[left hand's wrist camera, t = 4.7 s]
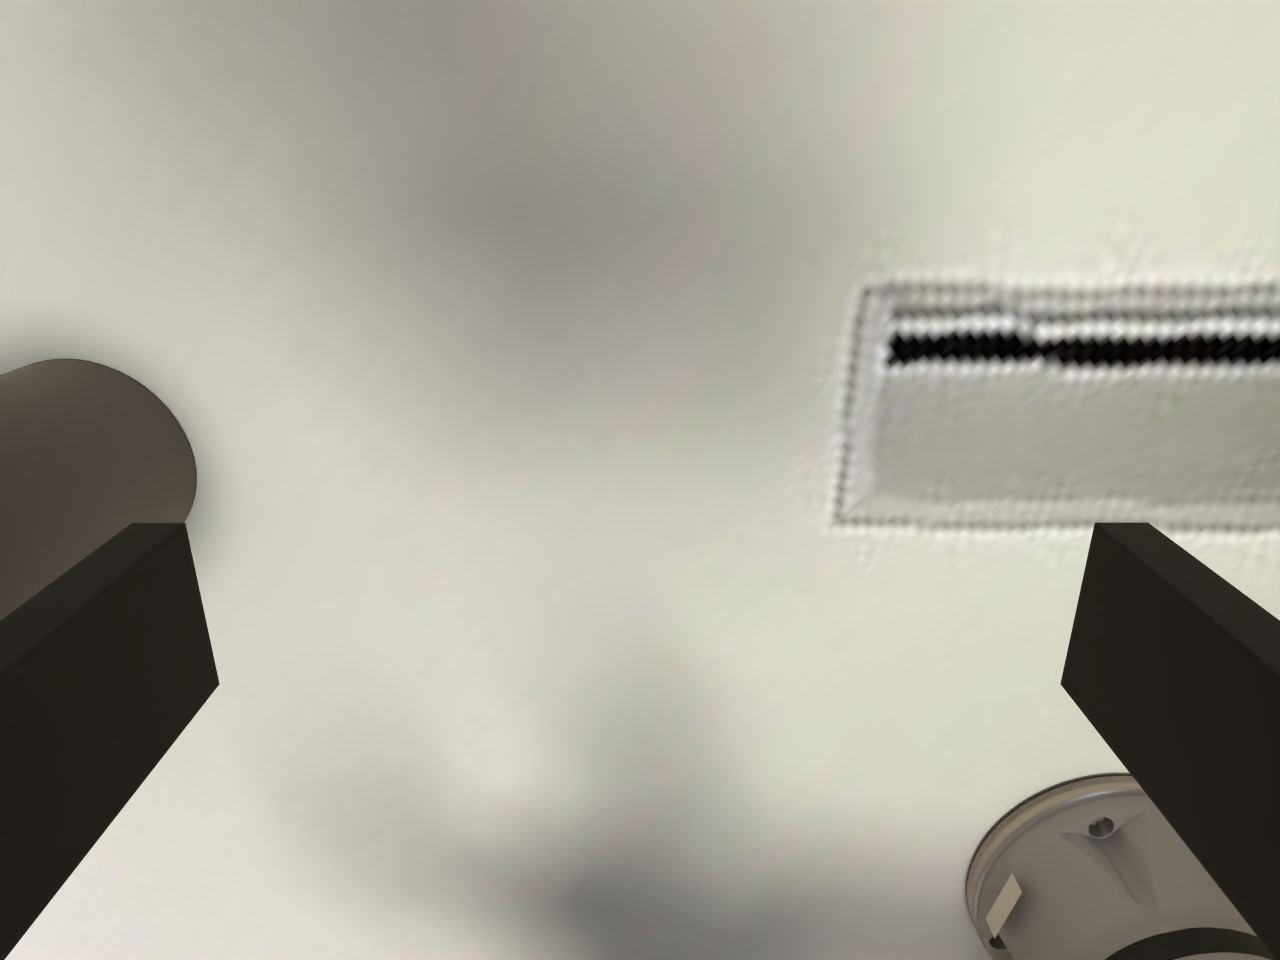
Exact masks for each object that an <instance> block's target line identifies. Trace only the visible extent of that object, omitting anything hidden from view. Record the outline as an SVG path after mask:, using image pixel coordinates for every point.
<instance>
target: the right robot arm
mask: <svg viewBox="0 0 1280 960" xmlns="http://www.w3.org/2000/svg"><path fill="white" fill-rule="evenodd" d="M967 902H968V907H969V911H970V914H971V917H972V919H973V922H974V924H975V926H976V929H977V931H978V933H979V936H980V938H981V940H982V942H983V944H984V946H985V948H986V949H987V951H988V952H989V954H990V955H991V956H992V958H993V959H994V960H1276V959H1275V958H1274V957H1273V956H1272V954H1271V953H1270V952H1269V950H1268V949H1267V948H1266V947H1265V945H1264V944H1263V943H1262V942H1261V940H1260V939H1259V938H1258V936H1257V935H1256V934H1255V933H1254V931H1253V930H1252V929H1251V927H1250V926H1249V925H1248V924H1247V922H1246V921H1245V920H1244V918H1243V917H1242V916H1241V915H1240V913H1239V912H1238V911H1237V909H1236V908H1235V907H1234V906H1233V904H1232V903H1231V902H1230V901H1229V899H1228V898H1227V897H1226V895H1225V894H1224V893H1223V892H1222V890H1221V889H1220V888H1219V886H1218V885H1217V884H1216V883H1215V881H1214V880H1213V879H1212V877H1211V876H1210V875H1209V874H1208V872H1207V871H1206V870H1205V868H1204V867H1203V866H1202V865H1201V863H1200V862H1199V861H1198V859H1197V858H1196V857H1195V856H1194V854H1193V853H1192V852H1191V851H1190V849H1189V848H1188V847H1187V845H1186V844H1185V843H1184V842H1183V840H1182V839H1181V838H1180V836H1179V835H1178V834H1177V833H1176V831H1175V830H1174V829H1173V827H1172V826H1171V825H1170V824H1169V822H1168V821H1167V820H1166V818H1165V817H1164V816H1163V815H1162V813H1161V812H1160V811H1159V810H1158V808H1157V807H1156V806H1155V804H1154V803H1153V802H1152V801H1151V799H1150V798H1149V797H1148V795H1147V794H1146V793H1145V792H1144V790H1143V789H1142V788H1141V786H1140V785H1139V784H1138V783H1137V781H1136V780H1135V779H1134V777H1133V776H1107V777H1099V778H1092V779H1087V780H1082V781H1077V782H1074V783H1071V784H1067V785H1064V786H1061V787H1059V788H1056V789H1053V790H1051V791H1049V792H1046V793H1044V794H1042V795H1040V796H1038V797H1036V798H1034V799H1033V800H1031V801H1029V802H1027V803H1026V804H1024V805H1023V806H1021V807H1020V808H1018V809H1017V810H1015V811H1014V812H1013V813H1012V814H1010V815H1009V816H1008V817H1006V818H1005V819H1004V820H1003V821H1002V822H1001V823H1000V824H999V825H998V826H997V827H996V828H995V829H994V830H993V831H992V832H991V834H990V835H989V836H988V837H987V839H986V840H985V841H984V843H983V844H982V846H981V847H980V849H979V851H978V852H977V854H976V856H975V859H974V861H973V863H972V866H971V869H970V872H969V877H968V882H967Z"/></svg>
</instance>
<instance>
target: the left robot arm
mask: <svg viewBox="0 0 1280 960" xmlns="http://www.w3.org/2000/svg"><path fill="white" fill-rule="evenodd" d="M218 685H219V680H218V675H217V671H216V666H215V661H214V656H213V652H212V647H211V642H210V638H209V633H208V628H207V624H206V619H205V614H204V609H203V605H202V600H201V595H200V591H199V586H198V581H197V576H196V572H195V567H194V562H193V558H192V553H191V548H190V543H189V539H188V534H187V529H186V525H185V523H131V524H130V525H128V526H127V527H126V528H124V529H123V530H122V531H120V532H119V533H118V534H116V535H115V536H114V537H112V538H111V539H109V540H108V541H107V542H105V543H104V544H103V545H101V546H100V547H99V548H97V549H96V550H95V551H93V552H92V553H91V554H89V555H88V556H87V557H85V558H84V559H83V560H81V561H80V562H79V563H77V564H76V565H75V566H73V567H72V568H70V569H69V570H68V571H66V572H65V573H64V574H62V575H61V576H60V577H58V578H57V579H56V580H54V581H53V582H52V583H50V584H49V585H48V586H46V587H45V588H44V589H42V590H41V591H40V592H38V593H37V594H36V595H34V596H33V597H31V598H30V599H29V600H27V601H26V602H25V603H23V604H22V605H21V606H19V607H18V608H17V609H15V610H14V611H13V612H11V613H10V614H9V615H7V616H6V617H5V618H3V619H2V620H1V621H0V960H4V959H5V958H6V957H7V956H8V954H9V953H10V952H11V950H12V949H13V948H14V947H15V945H16V944H17V943H18V942H19V940H20V939H21V938H22V936H23V935H24V934H25V933H26V931H27V930H28V929H29V927H30V926H31V925H32V924H33V922H34V921H35V920H36V918H37V917H38V916H39V915H40V913H41V912H42V911H43V909H44V908H45V907H46V906H47V904H48V903H49V902H50V901H51V899H52V898H53V897H54V895H55V894H56V893H57V892H58V890H59V889H60V888H61V886H62V885H63V884H64V883H65V881H66V880H67V879H68V877H69V876H70V875H71V874H72V872H73V871H74V870H75V868H76V867H77V866H78V865H79V863H80V862H81V861H82V859H83V858H84V857H85V856H86V854H87V853H88V852H89V851H90V849H91V848H92V847H93V845H94V844H95V843H96V842H97V840H98V839H99V838H100V836H101V835H102V834H103V833H104V831H105V830H106V829H107V827H108V826H109V825H110V824H111V822H112V821H113V820H114V818H115V817H116V816H117V815H118V813H119V812H120V811H121V810H122V808H123V807H124V806H125V804H126V803H127V802H128V801H129V799H130V798H131V797H132V795H133V794H134V793H135V792H136V790H137V789H138V788H139V786H140V785H141V784H142V783H143V781H144V780H145V779H146V777H147V776H148V775H149V774H150V772H151V771H152V770H153V768H154V767H155V766H156V765H157V763H158V762H159V761H160V760H161V758H162V757H163V756H164V754H165V753H166V752H167V751H168V749H169V748H170V747H171V745H172V744H173V743H174V742H175V740H176V739H177V738H178V736H179V735H180V734H181V733H182V731H183V730H184V729H185V727H186V726H187V725H188V724H189V722H190V721H191V720H192V719H193V717H194V716H195V715H196V713H197V712H198V711H199V710H200V708H201V707H202V706H203V704H204V703H205V702H206V701H207V699H208V698H209V697H210V695H211V694H212V693H213V692H214V690H215V689H216V688H217V686H218ZM1061 685H1062V686H1063V688H1064V689H1065V690H1066V692H1067V693H1068V694H1069V695H1070V697H1071V698H1072V699H1073V701H1074V702H1075V703H1076V704H1077V706H1078V707H1079V708H1080V710H1081V711H1082V712H1083V713H1084V715H1085V716H1086V717H1087V719H1088V720H1089V721H1090V722H1091V724H1092V725H1093V726H1094V727H1095V729H1096V730H1097V731H1098V733H1099V734H1100V735H1101V736H1102V738H1103V739H1104V740H1105V742H1106V743H1107V744H1108V745H1109V747H1110V748H1111V749H1112V751H1113V752H1114V753H1115V754H1116V756H1117V757H1118V758H1119V760H1120V761H1121V762H1122V763H1123V765H1124V766H1125V767H1126V768H1127V770H1128V771H1129V772H1130V774H1131V775H1132V776H1133V777H1134V779H1135V780H1136V781H1137V783H1138V784H1139V785H1140V786H1141V788H1142V789H1143V790H1144V792H1145V793H1146V794H1147V795H1148V797H1149V798H1150V799H1151V801H1152V802H1153V803H1154V804H1155V806H1156V807H1157V808H1158V810H1159V811H1160V812H1161V813H1162V815H1163V816H1164V817H1165V818H1166V820H1167V821H1168V822H1169V824H1170V825H1171V826H1172V827H1173V829H1174V830H1175V831H1176V833H1177V834H1178V835H1179V836H1180V838H1181V839H1182V840H1183V842H1184V843H1185V844H1186V845H1187V847H1188V848H1189V849H1190V851H1191V852H1192V853H1193V854H1194V856H1195V857H1196V858H1197V859H1198V861H1199V862H1200V863H1201V865H1202V866H1203V867H1204V868H1205V870H1206V871H1207V872H1208V874H1209V875H1210V876H1211V877H1212V879H1213V880H1214V881H1215V883H1216V884H1217V885H1218V886H1219V888H1220V889H1221V890H1222V892H1223V893H1224V894H1225V895H1226V897H1227V898H1228V899H1229V901H1230V902H1231V903H1232V904H1233V906H1234V907H1235V908H1236V909H1237V911H1238V912H1239V913H1240V915H1241V916H1242V917H1243V918H1244V920H1245V921H1246V922H1247V924H1248V925H1249V926H1250V927H1251V929H1252V930H1253V931H1254V933H1255V934H1256V935H1257V936H1258V938H1259V939H1260V940H1261V942H1262V943H1263V944H1264V945H1265V947H1266V948H1267V949H1268V950H1269V952H1270V953H1271V954H1272V956H1273V957H1274V958H1275V959H1276V960H1280V621H1279V620H1278V619H1277V618H1275V617H1274V616H1273V615H1271V614H1270V613H1269V612H1267V611H1266V610H1265V609H1263V608H1262V607H1261V606H1259V605H1258V604H1257V603H1255V602H1254V601H1253V600H1251V599H1250V598H1249V597H1247V596H1246V595H1244V594H1243V593H1242V592H1240V591H1239V590H1238V589H1236V588H1235V587H1234V586H1232V585H1231V584H1230V583H1228V582H1227V581H1226V580H1224V579H1223V578H1222V577H1220V576H1219V575H1218V574H1216V573H1215V572H1214V571H1212V570H1211V569H1210V568H1208V567H1207V566H1205V565H1204V564H1203V563H1201V562H1200V561H1199V560H1197V559H1196V558H1195V557H1193V556H1192V555H1191V554H1189V553H1188V552H1187V551H1185V550H1184V549H1183V548H1181V547H1180V546H1179V545H1177V544H1176V543H1175V542H1173V541H1172V540H1171V539H1169V538H1168V537H1166V536H1165V535H1164V534H1162V533H1161V532H1160V531H1158V530H1157V529H1156V528H1154V527H1153V526H1152V525H1150V524H1149V523H1095V525H1094V529H1093V534H1092V539H1091V543H1090V548H1089V553H1088V558H1087V562H1086V567H1085V572H1084V576H1083V581H1082V586H1081V591H1080V595H1079V600H1078V605H1077V609H1076V614H1075V619H1074V624H1073V628H1072V633H1071V638H1070V642H1069V647H1068V652H1067V656H1066V661H1065V666H1064V671H1063V675H1062V680H1061Z"/></svg>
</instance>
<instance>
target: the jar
mask: <svg viewBox="0 0 1280 960" xmlns="http://www.w3.org/2000/svg"><path fill="white" fill-rule="evenodd" d="M195 488H196V469H195V464H194V458H193V455H192V452H191V448H190V445H189V443H188V441H187V438H186V436H185V434H184V432H183V430H182V429H181V427H180V425H179V424H178V422H177V421H176V419H175V418H174V416H173V415H172V414H171V413H170V411H169V410H168V409H167V407H166V406H165V405H164V404H163V403H162V402H161V401H160V400H159V399H158V398H157V397H156V396H155V395H153V394H152V393H151V392H150V391H149V390H147V389H146V388H145V387H144V386H142V385H141V384H139V383H138V382H136V381H135V380H133V379H132V378H130V377H128V376H126V375H124V374H122V373H120V372H118V371H116V370H113V369H111V368H108V367H106V366H103V365H99V364H95V363H92V362H88V361H81V360H74V359H55V360H46V361H41V362H37V363H34V364H30V365H27V366H25V367H22V368H19V369H16V370H14V371H11V372H8V373H5V374H2V375H0V621H1V620H2V619H3V618H5V617H6V616H7V615H9V614H10V613H11V612H13V611H14V610H15V609H17V608H18V607H19V606H21V605H22V604H23V603H25V602H26V601H27V600H29V599H30V598H31V597H33V596H34V595H36V594H37V593H38V592H40V591H41V590H42V589H44V588H45V587H46V586H48V585H49V584H50V583H52V582H53V581H54V580H56V579H57V578H58V577H60V576H61V575H62V574H64V573H65V572H66V571H68V570H69V569H70V568H72V567H73V566H75V565H76V564H77V563H79V562H80V561H81V560H83V559H84V558H85V557H87V556H88V555H89V554H91V553H92V552H93V551H95V550H96V549H97V548H99V547H100V546H101V545H103V544H104V543H105V542H107V541H108V540H109V539H111V538H112V537H114V536H115V535H116V534H118V533H119V532H120V531H122V530H123V529H124V528H126V527H127V526H128V525H130V524H131V523H183V522H184V521H185V519H186V518H187V516H188V513H189V511H190V509H191V507H192V503H193V500H194V496H195Z"/></svg>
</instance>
